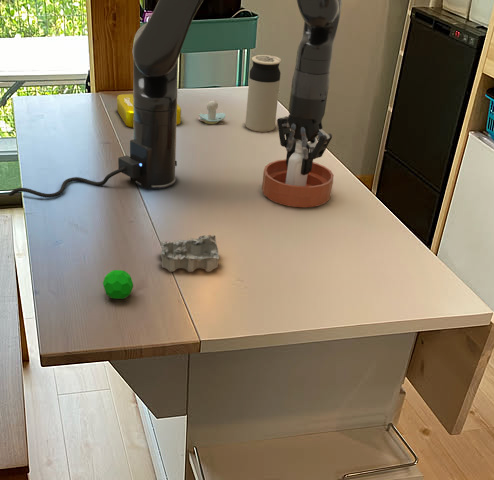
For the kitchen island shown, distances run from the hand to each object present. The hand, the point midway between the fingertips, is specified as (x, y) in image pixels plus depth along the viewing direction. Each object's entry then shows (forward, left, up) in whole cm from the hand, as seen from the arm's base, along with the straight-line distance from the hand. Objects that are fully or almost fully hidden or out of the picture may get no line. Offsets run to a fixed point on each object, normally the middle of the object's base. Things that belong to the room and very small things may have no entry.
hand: (297, 170), depth 155 cm
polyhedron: (-56, -9, -6) cm, 57 cm away
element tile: (+4, +57, -6) cm, 57 cm away
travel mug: (+24, +34, -6) cm, 42 cm away
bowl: (0, 0, -6) cm, 6 cm away
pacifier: (+16, +45, -6) cm, 48 cm away
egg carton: (-39, -8, -6) cm, 40 cm away
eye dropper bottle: (0, 0, -4) cm, 4 cm away
